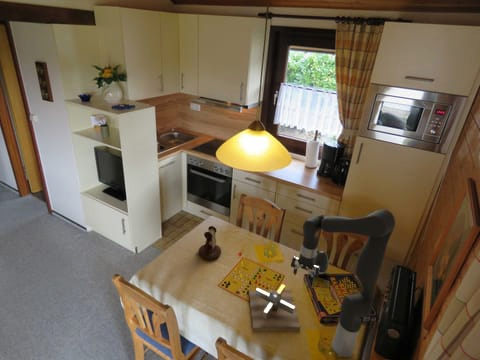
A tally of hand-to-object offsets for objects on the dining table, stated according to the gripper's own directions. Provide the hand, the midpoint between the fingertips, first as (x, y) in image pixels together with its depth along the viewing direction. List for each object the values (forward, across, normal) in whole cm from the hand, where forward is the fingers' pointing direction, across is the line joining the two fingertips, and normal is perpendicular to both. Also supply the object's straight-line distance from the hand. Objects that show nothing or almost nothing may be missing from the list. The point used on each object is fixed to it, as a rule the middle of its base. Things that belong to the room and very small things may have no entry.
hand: (303, 277), depth 157 cm
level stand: (+22, +10, +9) cm, 26 cm away
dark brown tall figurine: (+22, +64, -7) cm, 69 cm away
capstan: (+20, +10, +9) cm, 24 cm away
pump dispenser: (+22, 0, -35) cm, 41 cm away
